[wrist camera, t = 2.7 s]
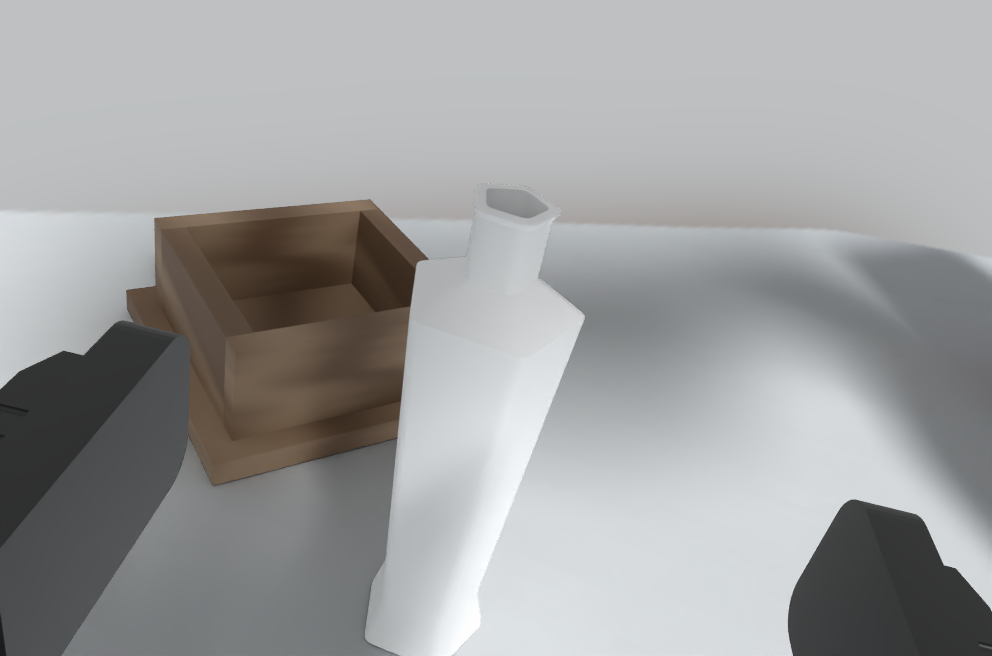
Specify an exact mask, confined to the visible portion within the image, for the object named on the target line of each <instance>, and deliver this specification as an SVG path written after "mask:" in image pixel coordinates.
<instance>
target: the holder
mask: <svg viewBox="0 0 992 656" xmlns="http://www.w3.org/2000/svg"><path fill="white" fill-rule="evenodd" d="M154 220H155V271H156V286H153V287H146V288H138V289H130V290H126V293H127V309H128V311H129V314H130V316H131V318H132V320H133V322H134V323H136V324H140V325H144V326H148V327H152V328H156V329H161V330H165V331H169V332H173V333H177V334H181V335H185V336H186V337H187V338H188V340H189V344H190V382H189V419H188V435H189V437H190V439H191V441H192V443H193V446H194V448H195V450H196V452H197V454H198V456H199V458H200V460H201V462H202V464H203V466H204V468H205V470H206V472H207V474H208V476H209V478H210V481H211V483H212V485H213V486H214V485H218V484H222V483H226V482H230V481H234V480H237V479H241V478H245V477H249V476H253V475H257V474H260V473H264V472H268V471H272V470H276V469H280V468H284V467H287V466H291V465H295V464H299V463H303V462H307V461H310V460H314V459H318V458H322V457H326V456H330V455H333V454H337V453H341V452H345V451H349V450H353V449H356V448H360V447H364V446H368V445H372V444H376V443H380V442H383V441H387V440H391V439H395V438H398V428H399V417H400V407H401V397H402V387H403V377H404V367H405V357H406V346H407V336H408V326H409V316H410V308H411V301H412V294H413V287H414V280H415V272H416V265H417V263H418V262H420V261H423V260H429V259H428V258H427V257H426V256H425V255H424V254H423V253H422V252H421V251H420V250H419V249H418V248H417V247H416V246H415V245H414V244H413V243H412V242H411V241H410V240H409V239H408V238H407V237H406V236H405V235H404V233H403V232H402V231H401V230H400V229H399V228H398V227H397V226H396V225H395V224H394V223H393V222H392V221H391V220H390V219H389V218H388V217H387V216H386V215H385V214H384V213H383V212H382V211H381V210H380V209H379V208H378V207H377V206H376V205H375V204H374V203H373V202H372V201H371V200H370V199H369V200H358V201H347V202H335V203H324V204H312V205H301V206H289V207H278V208H266V209H255V210H243V211H232V212H220V213H209V214H197V215H186V216H174V217H163V218H154Z"/></svg>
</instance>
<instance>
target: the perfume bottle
mask: <svg viewBox="0 0 992 656" xmlns="http://www.w3.org/2000/svg"><path fill="white" fill-rule="evenodd" d="M474 207H475V215H474V220H473V225H472V229H471V234H470V239H469V244H468V249H467V254H466V256H465V257H455V258H444V259H433V260H423V261H420V262H418V263H417V265H416V272H415V280H414V287H413V294H412V301H411V308H410V316H409V326H408V336H407V346H406V357H405V367H404V377H403V387H402V397H401V407H400V417H399V428H398V438H397V448H396V458H395V468H394V478H393V488H392V499H391V509H390V519H389V529H388V539H387V549H386V559H385V562H384V563H383V565H382V567H381V568H380V570H379V572H378V573H377V575H376V577H375V578H374V580H373V582H372V586H371V593H370V600H369V607H368V614H367V621H366V628H365V639H366V640H367V642H369V643H371V644H373V645H375V646H378V647H380V648H382V649H385V650H387V651H390V652H392V653H395V654H397V655H400V656H452V655H453V654H454V653H455V652H456V651H457V650H458V648H459V647H460V646H461V645H462V644H463V643H464V642H465V641H466V640H467V639H468V638H469V637H470V636H471V635H472V634H473V633H474V632H475V631H476V630H477V629H478V628H479V626H480V625H481V615H480V605H479V595H478V589H479V587H480V584H481V582H482V579H483V577H484V574H485V572H486V569H487V567H488V564H489V561H490V559H491V556H492V554H493V551H494V549H495V546H496V544H497V541H498V539H499V536H500V533H501V531H502V528H503V526H504V523H505V521H506V518H507V516H508V513H509V510H510V508H511V505H512V503H513V500H514V498H515V495H516V493H517V490H518V488H519V485H520V482H521V480H522V477H523V475H524V472H525V470H526V467H527V465H528V462H529V460H530V457H531V454H532V452H533V449H534V447H535V444H536V442H537V439H538V437H539V434H540V431H541V429H542V426H543V424H544V421H545V419H546V416H547V414H548V411H549V409H550V406H551V403H552V401H553V398H554V396H555V393H556V391H557V388H558V386H559V383H560V381H561V378H562V375H563V373H564V370H565V368H566V365H567V363H568V360H569V358H570V355H571V352H572V350H573V347H574V345H575V342H576V340H577V337H578V335H579V332H580V330H581V327H582V324H583V322H584V319H585V315H584V314H583V313H582V312H581V311H580V310H579V309H577V308H576V307H575V306H574V305H573V304H571V303H570V302H569V301H568V300H566V299H565V298H564V297H563V296H561V295H560V294H559V293H558V292H557V291H555V290H554V289H553V288H552V287H550V286H549V285H548V284H547V283H545V282H544V281H543V280H542V279H541V278H539V273H540V269H541V265H542V261H543V257H544V253H545V250H546V246H547V242H548V238H549V234H550V230H551V227H552V223H553V220H554V219H556V218H557V217H558V216H560V214H561V213H562V212H561V209H560V208H558V206H556V205H555V204H553V203H552V202H551V201H549V200H548V199H546V198H545V197H544V196H542V195H541V194H539V193H538V192H536V191H535V190H534V189H532V188H530V187H527V186H521V185H503V184H478V185H476V186H475V188H474Z"/></svg>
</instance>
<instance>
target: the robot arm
mask: <svg viewBox="0 0 992 656" xmlns="http://www.w3.org/2000/svg"><path fill="white" fill-rule="evenodd" d="M189 382H190V344H189V340H188V338H187V337H186V336H185V335H181V334H177V333H173V332H169V331H165V330H161V329H156V328H152V327H148V326H144V325H140V324H136V323H132V322H127V321H119V322H117V323H115V324H114V325H113V326H112V327H111V328H110V329H109V330H108V331H107V332H106V333H105V334H104V335H103V336H102V337H101V338H100V339H99V340H98V341H97V342H96V343H95V344H94V345H93V346H92V347H91V348H90V349H89V350H88V351H87V352H86V354H85V355H84V356H83V355H79V354H75V353H71V352H67V351H62V352H60V353H58V354H56V355H54V356H52V357H49V358H47V359H45V360H43V361H41V362H39V363H37V364H34V365H32V366H30V367H28V368H26V369H24V370H22V371H20V372H18V373H17V374H16V375H15V376H14V377H13V378H12V379H11V380H10V381H9V382H8V383H7V384H6V385H5V386H4V387H2V388H1V389H0V656H61V655H62V653H63V652H64V650H65V649H66V647H67V646H68V644H69V643H70V641H71V639H72V638H73V636H74V635H75V633H76V632H77V630H78V629H79V627H80V626H81V624H82V623H83V621H84V620H85V618H86V617H87V615H88V613H89V612H90V610H91V609H92V607H93V606H94V604H95V603H96V601H97V600H98V598H99V597H100V595H101V594H102V592H103V591H104V589H105V587H106V586H107V584H108V583H109V581H110V580H111V578H112V577H113V575H114V574H115V572H116V571H117V569H118V568H119V566H120V565H121V563H122V561H123V560H124V558H125V557H126V555H127V554H128V552H129V551H130V549H131V548H132V546H133V545H134V543H135V542H136V540H137V539H138V537H139V535H140V534H141V532H142V531H143V529H144V528H145V526H146V525H147V523H148V522H149V520H150V519H151V517H152V516H153V514H154V513H155V511H156V509H157V508H158V506H159V505H160V503H161V502H162V500H163V499H164V497H165V496H166V494H167V493H168V491H169V490H170V488H171V486H172V485H173V483H174V481H175V479H176V477H177V475H178V472H179V470H180V467H181V465H182V461H183V458H184V455H185V451H186V446H187V440H188V419H189ZM788 633H789V639H790V644H791V648H792V653H793V656H992V611H991V609H990V607H989V606H988V605H987V604H986V603H985V602H984V600H983V599H982V598H981V597H980V596H979V595H978V594H977V592H976V591H975V590H974V589H973V588H972V587H971V585H970V584H969V583H968V582H967V581H966V580H965V579H964V577H963V576H962V575H961V574H960V573H959V572H958V571H957V569H956V568H952V567H948V566H944V565H943V562H942V560H941V558H940V556H939V553H938V551H937V549H936V547H935V544H934V542H933V540H932V538H931V536H930V533H929V531H928V529H927V527H926V525H925V523H924V521H923V520H922V519H921V518H920V517H919V516H918V515H916V514H913V513H908V512H904V511H900V510H896V509H892V508H888V507H884V506H879V505H875V504H871V503H867V502H863V501H859V500H850V501H848V502H846V503H845V504H844V505H843V506H842V507H841V508H840V510H839V511H838V513H837V515H836V516H835V518H834V520H833V521H832V523H831V525H830V527H829V528H828V530H827V532H826V534H825V535H824V537H823V539H822V540H821V542H820V544H819V546H818V547H817V549H816V551H815V552H814V554H813V556H812V558H811V559H810V561H809V563H808V565H807V566H806V568H805V570H804V571H803V573H802V575H801V577H800V578H799V580H798V582H797V584H796V586H795V588H794V591H793V594H792V597H791V601H790V606H789V613H788Z"/></svg>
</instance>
